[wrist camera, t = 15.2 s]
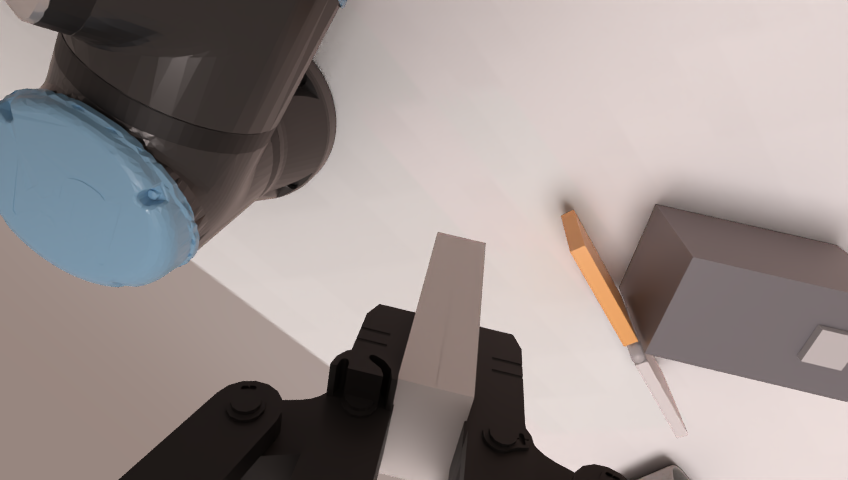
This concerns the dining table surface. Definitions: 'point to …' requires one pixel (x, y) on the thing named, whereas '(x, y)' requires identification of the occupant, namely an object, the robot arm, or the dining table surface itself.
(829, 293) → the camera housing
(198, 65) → the robot arm
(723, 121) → the dining table surface
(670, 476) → the ceramic mug
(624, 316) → the side door
